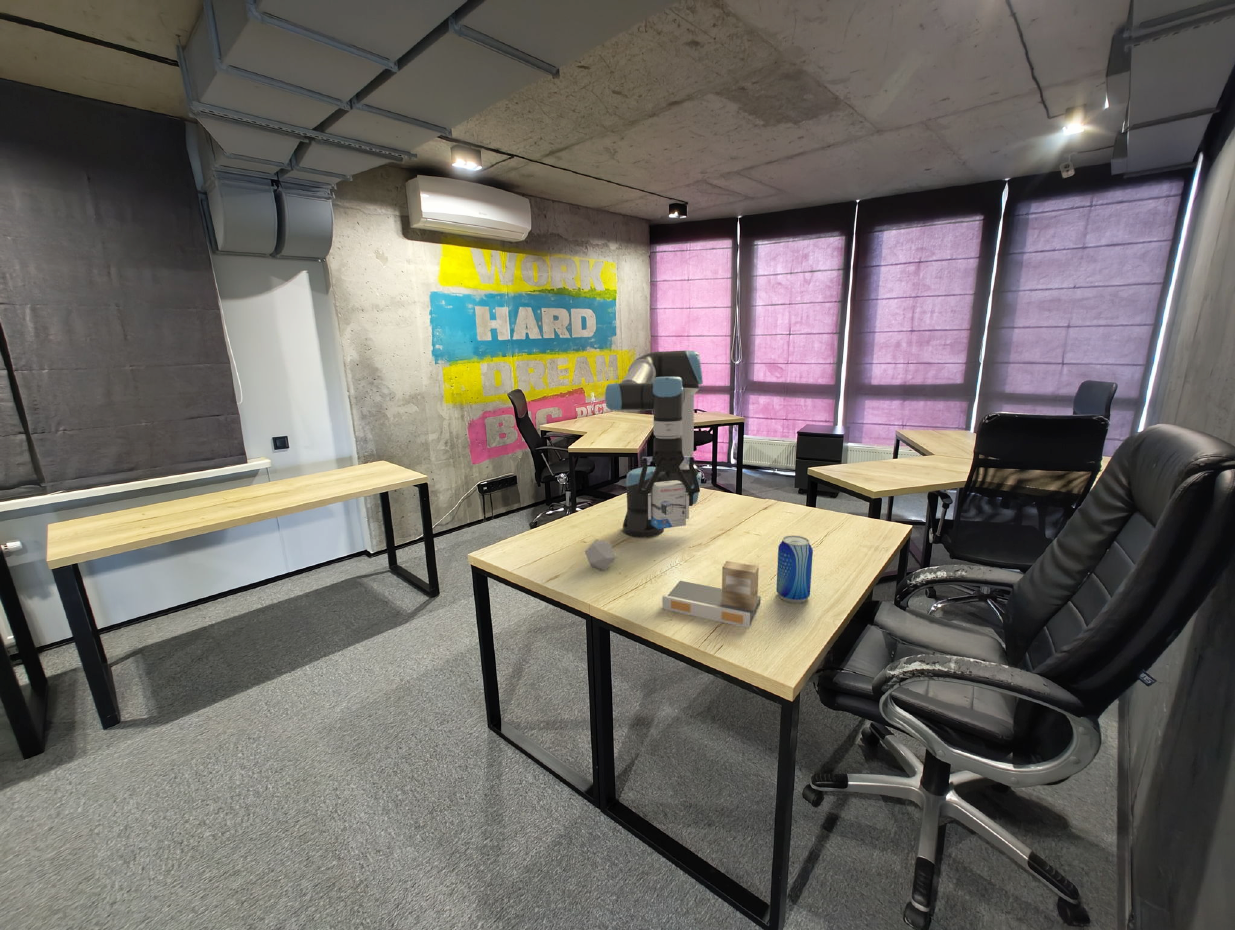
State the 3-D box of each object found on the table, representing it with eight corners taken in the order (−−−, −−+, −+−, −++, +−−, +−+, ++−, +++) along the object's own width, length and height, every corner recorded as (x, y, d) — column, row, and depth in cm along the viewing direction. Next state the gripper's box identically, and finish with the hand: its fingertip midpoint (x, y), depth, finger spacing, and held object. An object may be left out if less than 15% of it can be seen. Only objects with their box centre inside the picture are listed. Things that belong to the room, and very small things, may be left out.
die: (621, 567, 153) (613, 536, 157) (612, 564, 145) (604, 532, 149) (596, 575, 155) (589, 545, 159) (586, 573, 147) (578, 541, 150)
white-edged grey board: (662, 609, 126) (661, 596, 126) (680, 587, 138) (680, 575, 137) (748, 628, 117) (749, 615, 116) (760, 603, 128) (760, 590, 127)
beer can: (771, 590, 135) (773, 535, 131) (801, 588, 135) (804, 533, 132) (783, 605, 126) (786, 547, 123) (815, 603, 127) (819, 545, 124)
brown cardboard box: (721, 604, 124) (722, 567, 122) (725, 596, 128) (726, 560, 125) (753, 610, 120) (755, 572, 118) (757, 603, 124) (758, 566, 122)
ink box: (657, 530, 131) (657, 487, 129) (650, 524, 136) (649, 483, 133) (686, 525, 134) (686, 483, 131) (678, 520, 139) (678, 479, 136)
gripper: (625, 439, 127) (627, 522, 131) (712, 437, 126) (711, 521, 130) (626, 434, 134) (627, 513, 139) (708, 433, 133) (707, 512, 138)
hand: (668, 517), depth 134 cm, fingers closed on ink box, 9 cm apart
